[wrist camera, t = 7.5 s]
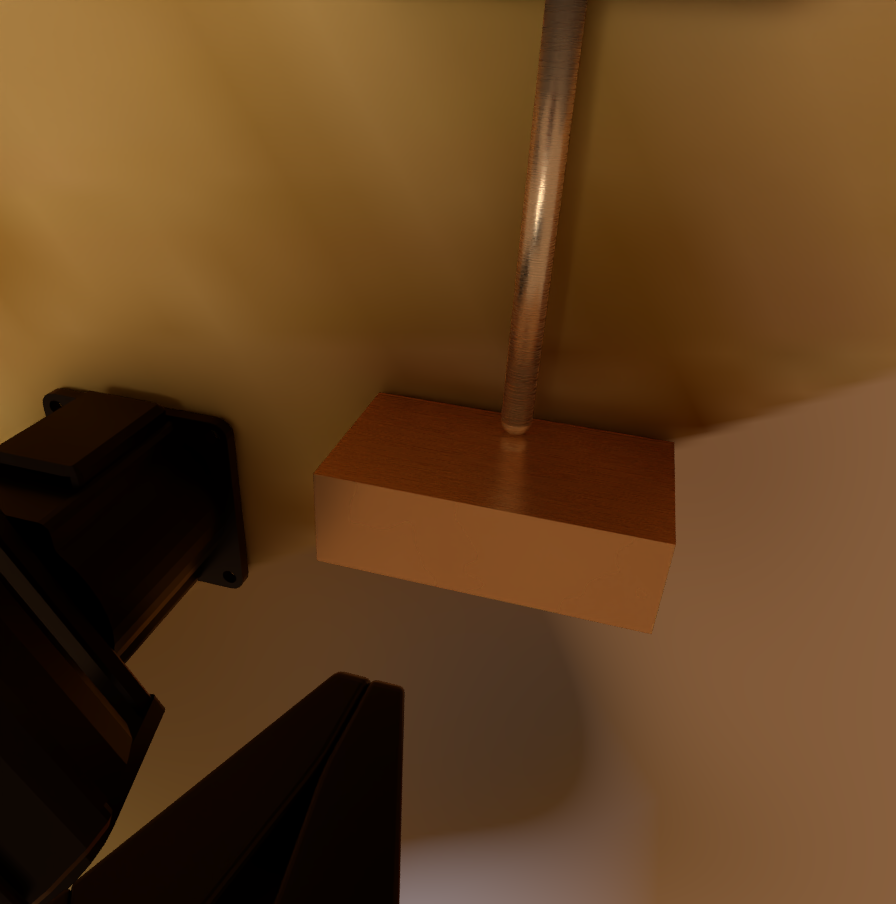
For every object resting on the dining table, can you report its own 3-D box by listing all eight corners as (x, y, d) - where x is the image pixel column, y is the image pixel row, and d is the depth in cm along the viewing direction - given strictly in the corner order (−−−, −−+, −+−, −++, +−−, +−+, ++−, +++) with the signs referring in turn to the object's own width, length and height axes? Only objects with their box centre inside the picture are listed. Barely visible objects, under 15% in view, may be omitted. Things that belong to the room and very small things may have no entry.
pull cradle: (666, 523, 20) (665, 637, 16) (369, 466, 22) (305, 557, 18) (1011, -817, 9) (1246, -1405, 5) (371, -728, 11) (215, -1133, 7)
